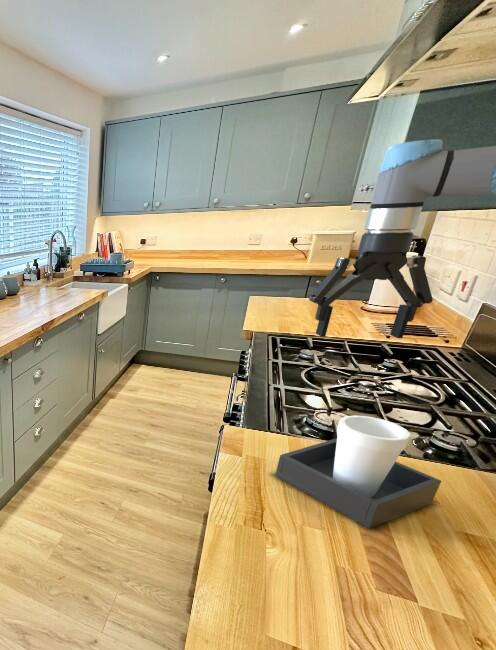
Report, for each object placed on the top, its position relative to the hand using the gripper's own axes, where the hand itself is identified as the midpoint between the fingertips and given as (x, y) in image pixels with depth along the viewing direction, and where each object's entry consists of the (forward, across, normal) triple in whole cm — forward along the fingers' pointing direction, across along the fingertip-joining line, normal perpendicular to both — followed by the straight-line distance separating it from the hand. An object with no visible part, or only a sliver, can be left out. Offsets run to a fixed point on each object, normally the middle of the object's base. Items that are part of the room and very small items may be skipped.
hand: (357, 335), depth 90 cm
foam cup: (+24, +5, +23) cm, 33 cm away
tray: (+25, +5, +22) cm, 33 cm away
